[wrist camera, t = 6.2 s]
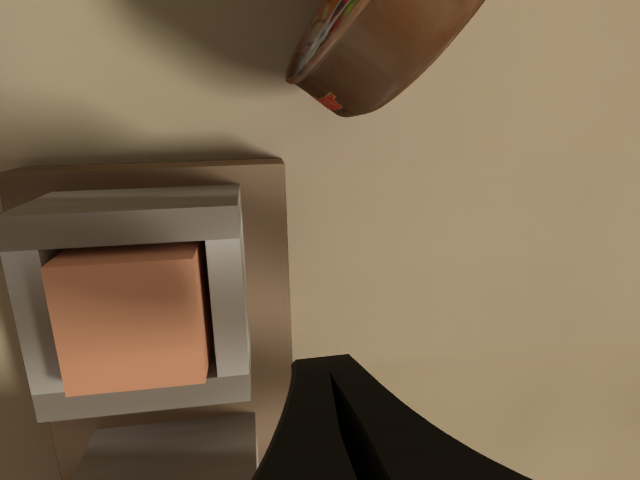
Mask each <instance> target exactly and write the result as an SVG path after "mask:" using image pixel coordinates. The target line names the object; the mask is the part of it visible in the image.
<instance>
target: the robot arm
mask: <svg viewBox="0 0 640 480" xmlns="http://www.w3.org/2000/svg"><path fill="white" fill-rule="evenodd" d="M251 480H532V479H530V478H528V477H526V476H523V475H521V474H519V473H517V472H515V471H513V470H511V469H509V468H507V467H505V466H503V465H501V464H499V463H497V462H495V461H493V460H491V459H489V458H487V457H486V456H484V455H482V454H480V453H478V452H476V451H475V450H473V449H471V448H469V447H468V446H466V445H464V444H463V443H461V442H460V441H458V440H456V439H455V438H453V437H451V436H450V435H448V434H446V433H445V432H443V431H442V430H440V429H439V428H437V427H436V426H434V425H433V424H431V423H430V422H428V421H427V420H426V419H424V418H423V417H422V416H420V415H419V414H417V413H416V412H415V411H413V410H412V409H411V408H409V407H408V406H407V405H405V404H404V403H403V402H402V401H400V400H399V399H398V398H397V397H396V396H394V395H393V394H392V393H391V392H390V391H388V390H387V389H386V388H385V387H384V386H383V385H382V384H380V383H379V382H378V381H377V380H376V379H375V378H374V377H373V376H372V375H371V374H369V373H368V372H367V371H366V370H365V369H364V368H363V367H362V366H361V365H360V364H359V363H358V362H357V361H356V360H354V359H353V358H352V357H351V356H350V355H349V354H345V355H335V356H326V357H317V358H307V359H298V360H295V361H294V362H293V363H292V364H291V381H290V386H289V391H288V395H287V398H286V401H285V405H284V408H283V411H282V414H281V417H280V420H279V422H278V425H277V427H276V429H275V432H274V434H273V437H272V439H271V442H270V444H269V446H268V448H267V450H266V453H265V455H264V457H263V459H262V461H261V463H260V465H259V466H258V468H257V470H256V472H255V474H254V476H253V477H252V479H251Z"/></svg>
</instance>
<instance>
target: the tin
mask: <svg viewBox="0 0 640 480" xmlns="http://www.w3.org/2000/svg"><path fill="white" fill-rule="evenodd" d="M484 1H485V0H324V1H323V3H322V5H321V6H320V8H319V10H318V11H317V13H316V15H315V17H314V18H313V20H312V21H311V23H310V25H309V27H308V28H307V30H306V32H305V34H304V35H303V37H302V39H301V41H300V43H299V45H298V47H297V48H296V50H295V53H294V55H293V57H292V59H291V62H290V64H289V66H288V69H287V73H286V81H287V82H288V83H289V84H295V85H297V86H298V87H300V88H301V89H303V90H304V91H306V92H307V93H308V94H310V95H311V96H312V97H314V98H315V99H316V100H317V101H319V102H320V103H321V104H323V105H324V106H325V107H326V108H328V109H329V110H331V111H332V112H334V113H335V114H337V115H339V116H342V117H353V116H358V115H362V114H367V113H370V112H373V111H375V110H377V109H379V108H381V107H382V106H384V105H385V104H387V103H388V102H390V101H391V100H392V99H394V98H395V97H396V96H398V95H399V94H400V93H401V92H402V91H404V90H405V89H406V88H407V87H408V86H409V85H410V84H412V83H413V82H414V81H415V80H416V79H417V78H418V77H419V76H420V75H421V74H422V73H423V72H424V71H425V70H426V69H427V68H428V67H429V66H430V65H431V64H432V63H433V62H434V61H435V60H436V59H437V58H438V57H439V56H440V55H441V54H442V52H443V51H444V50H445V49H446V48H447V47H448V46H449V44H450V43H451V42H452V41H453V40H454V39H455V38H456V36H457V35H458V34H459V33H460V31H461V30H462V29H463V28H464V27H465V25H466V24H467V23H468V22H469V21H470V19H471V18H472V17H473V16H474V15H475V13H476V12H477V11H478V9H479V8H480V7H481V5H482V4H483V3H484Z"/></svg>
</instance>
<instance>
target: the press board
mask: <svg viewBox="0 0 640 480" xmlns="http://www.w3.org/2000/svg"><path fill="white" fill-rule="evenodd" d="M0 196H1V201H2V205H3V210H4V212H3V213H0V257H1V261H2V266H3V270H4V275H5V279H6V284H7V288H8V293H9V297H10V302H11V306H12V311H13V315H14V320H15V324H16V329H17V333H18V338H19V342H20V347H21V351H22V356H23V360H24V365H25V369H26V374H27V378H28V383H29V387H30V392H31V396H32V400H33V405H34V409H35V414H36V418H37V423H42V422H49V424H50V429H51V434H52V438H53V443H54V448H55V452H56V457H57V462H58V466H59V471H60V476H61V480H251V479H252V477H253V476H254V474H255V472H256V470H257V468H258V466H259V465H260V463H261V461H262V459H263V457H264V455H265V453H266V450H267V448H268V446H269V444H270V442H271V439H272V437H273V434H274V432H275V429H276V427H277V425H278V422H279V420H280V417H281V414H282V411H283V408H284V405H285V401H286V398H287V395H288V391H289V386H290V381H291V364H292V338H291V313H290V287H289V262H288V237H287V212H286V187H285V164H284V162H283V160H282V159H281V158H272V159H242V160H213V161H184V162H154V163H125V164H95V165H66V166H36V167H21V168H17V169H13V170H9V171H5V172H1V173H0ZM204 240H205V245H206V255H207V266H208V277H209V288H210V299H211V310H212V321H213V332H214V334H213V340H212V347H211V353H210V359H209V365H208V371H207V378H206V383H205V384H195V385H185V386H175V387H164V388H154V389H144V390H134V391H124V392H113V393H103V394H93V395H83V396H72V397H66V396H65V391H64V386H63V381H62V376H61V371H60V366H59V361H58V356H57V351H56V346H55V341H54V336H53V331H52V326H51V321H50V316H49V311H48V306H47V301H46V296H45V291H44V286H43V280H42V275H41V270H40V268H41V267H42V266H44V265H45V264H46V263H48V262H49V261H50V260H51V259H53V258H54V257H55V256H57V255H58V254H59V253H61V252H62V251H63V250H65V249H66V248H81V247H98V246H116V245H133V244H151V243H169V242H186V241H204Z"/></svg>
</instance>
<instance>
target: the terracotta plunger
mask: <svg viewBox="0 0 640 480" xmlns="http://www.w3.org/2000/svg"><path fill="white" fill-rule="evenodd" d="M40 270H41V275H42V280H43V286H44V291H45V296H46V301H47V306H48V311H49V316H50V321H51V326H52V331H53V336H54V341H55V346H56V351H57V356H58V361H59V366H60V371H61V376H62V381H63V386H64V391H65V396H66V397H72V396H83V395H93V394H103V393H113V392H124V391H134V390H144V389H154V388H164V387H175V386H185V385H195V384H205V383H206V378H207V371H208V365H209V359H210V353H211V347H212V340H213V334H214V332H213V321H212V310H211V299H210V288H209V277H208V266H207V255H206V245H205V240H204V241H186V242H169V243H151V244H133V245H116V246H98V247H81V248H66V249H65V250H63V251H62V252H61V253H59V254H58V255H57V256H55V257H54V258H53V259H51V260H50V261H49V262H48V263H46V264H45V265H44V266H42V267H41V268H40Z"/></svg>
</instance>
